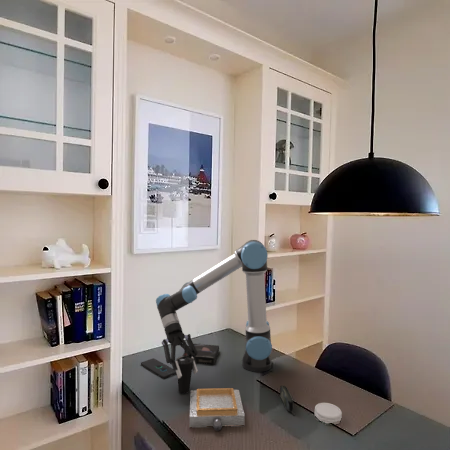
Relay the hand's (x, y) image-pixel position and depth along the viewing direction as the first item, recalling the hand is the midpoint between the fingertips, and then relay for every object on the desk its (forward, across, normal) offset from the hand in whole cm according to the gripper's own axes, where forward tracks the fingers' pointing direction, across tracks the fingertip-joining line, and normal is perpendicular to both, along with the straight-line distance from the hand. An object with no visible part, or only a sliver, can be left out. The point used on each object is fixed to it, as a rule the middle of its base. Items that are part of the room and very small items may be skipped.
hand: (188, 374), depth 145 cm
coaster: (+37, -38, +24) cm, 58 cm away
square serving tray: (+19, -2, +7) cm, 20 cm away
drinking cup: (+4, 0, -9) cm, 9 cm away
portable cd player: (-14, -24, -28) cm, 40 cm away
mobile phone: (+26, -31, +13) cm, 43 cm away
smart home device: (-13, +1, -27) cm, 30 cm away
